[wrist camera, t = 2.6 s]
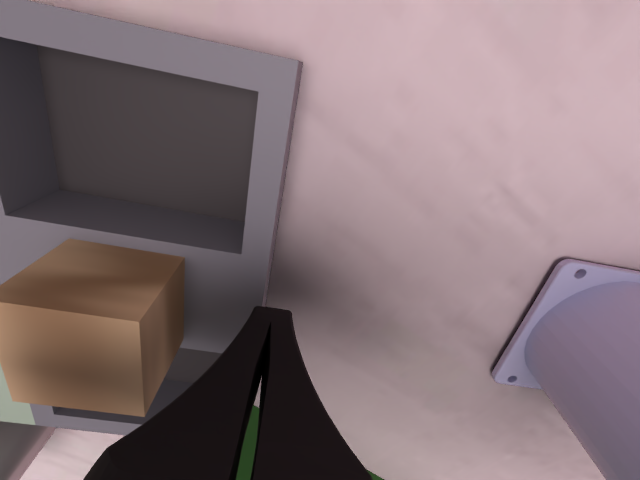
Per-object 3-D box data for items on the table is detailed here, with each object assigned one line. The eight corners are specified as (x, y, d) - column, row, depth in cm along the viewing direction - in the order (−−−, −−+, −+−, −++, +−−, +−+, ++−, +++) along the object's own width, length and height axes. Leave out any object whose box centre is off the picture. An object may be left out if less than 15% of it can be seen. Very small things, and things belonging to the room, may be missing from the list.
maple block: (184, 257, 12) (139, 321, 9) (183, 339, 14) (144, 416, 11) (69, 238, 12) (-21, 299, 9) (82, 325, 14) (12, 401, 10)
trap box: (302, 62, 12) (298, 60, 9) (251, 397, 20) (240, 448, 17) (-200, -50, 11) (-376, -90, 8) (-39, 360, 19) (-99, 410, 16)
